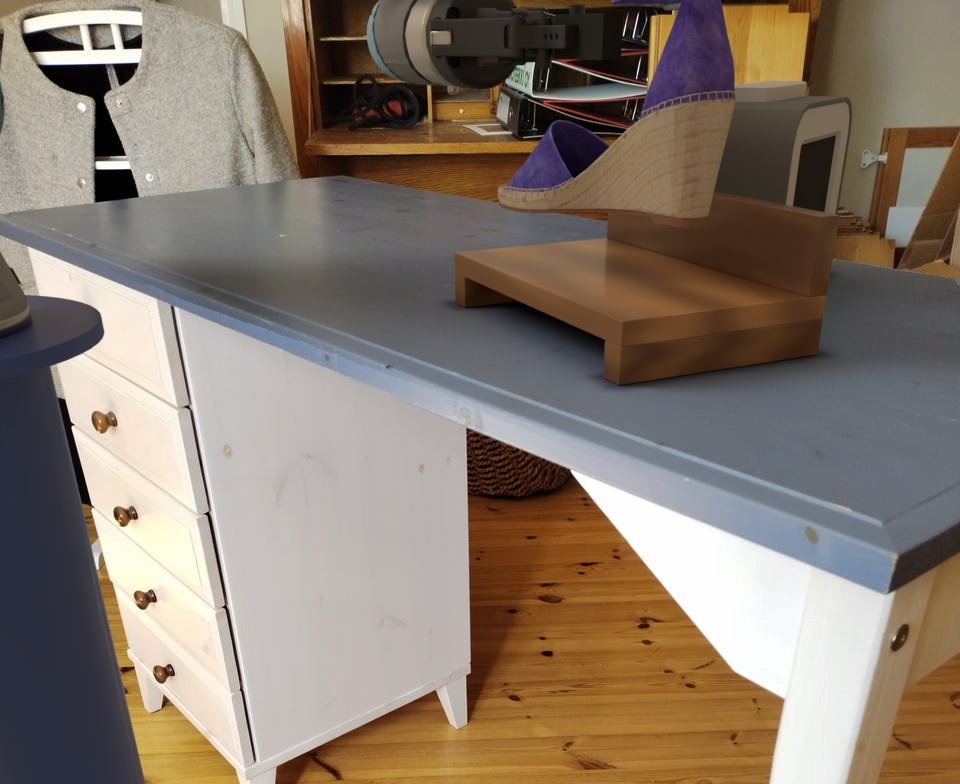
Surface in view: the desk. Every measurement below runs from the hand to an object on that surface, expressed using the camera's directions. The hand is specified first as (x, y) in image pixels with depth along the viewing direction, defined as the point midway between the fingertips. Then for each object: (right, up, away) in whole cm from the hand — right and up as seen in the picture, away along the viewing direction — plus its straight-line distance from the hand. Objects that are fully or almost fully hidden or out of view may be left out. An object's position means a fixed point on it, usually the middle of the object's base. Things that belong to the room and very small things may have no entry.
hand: (612, 36), depth 67 cm
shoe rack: (+2, -16, +10) cm, 19 cm away
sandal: (0, -9, +6) cm, 11 cm away
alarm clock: (+14, -8, +24) cm, 29 cm away
